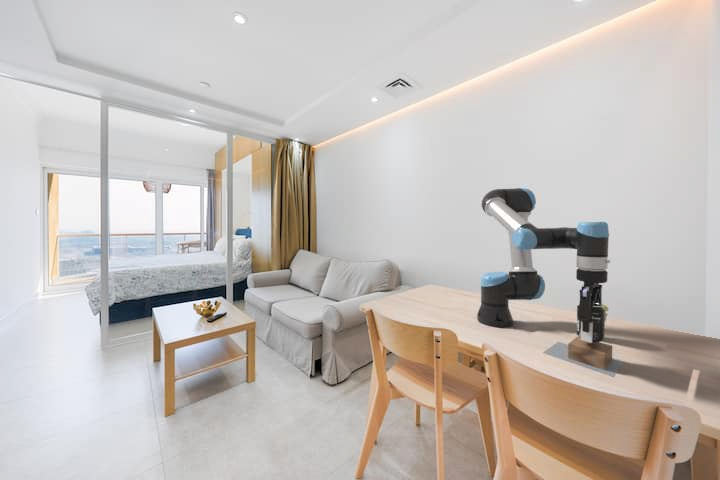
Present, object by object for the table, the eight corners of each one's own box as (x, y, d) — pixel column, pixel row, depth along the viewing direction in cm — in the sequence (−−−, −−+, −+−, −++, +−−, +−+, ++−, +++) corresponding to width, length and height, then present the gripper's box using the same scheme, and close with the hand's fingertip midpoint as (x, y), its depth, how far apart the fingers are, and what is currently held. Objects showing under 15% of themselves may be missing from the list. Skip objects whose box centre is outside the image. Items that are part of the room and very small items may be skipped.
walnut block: (568, 358, 86) (568, 343, 86) (577, 350, 91) (577, 336, 91) (604, 370, 79) (604, 354, 78) (612, 360, 84) (612, 345, 83)
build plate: (542, 356, 90) (542, 352, 90) (558, 344, 98) (558, 341, 98) (613, 380, 75) (613, 376, 75) (624, 365, 83) (624, 361, 83)
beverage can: (584, 333, 89) (585, 299, 88) (609, 341, 82) (610, 305, 82) (571, 336, 87) (572, 302, 86) (595, 345, 80) (596, 308, 80)
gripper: (597, 274, 75) (596, 351, 76) (615, 267, 86) (613, 333, 87) (566, 271, 81) (565, 342, 82) (586, 264, 92) (585, 327, 93)
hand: (590, 337), depth 85 cm, fingers closed on beverage can, 7 cm apart
